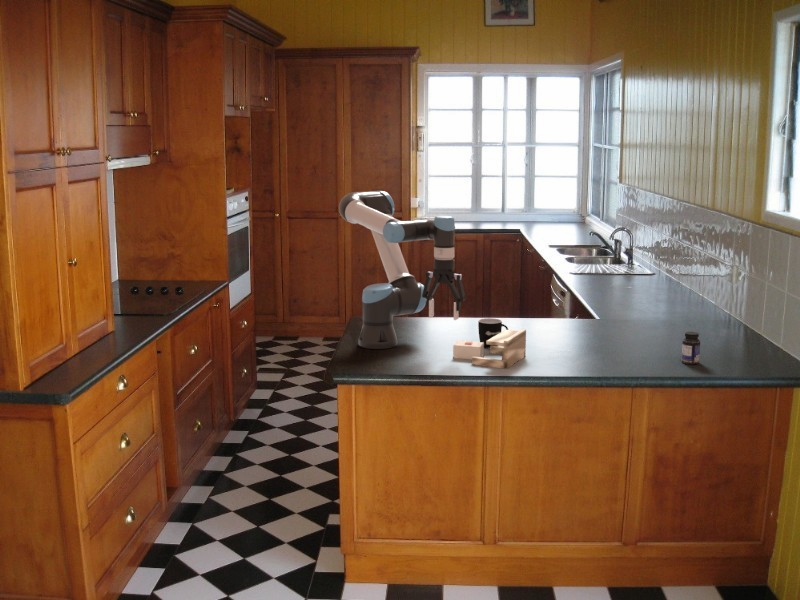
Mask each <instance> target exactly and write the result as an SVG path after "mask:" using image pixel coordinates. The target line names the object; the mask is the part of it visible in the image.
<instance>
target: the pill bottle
mask: <svg viewBox="0 0 800 600" xmlns="http://www.w3.org/2000/svg"><path fill="white" fill-rule="evenodd" d="M699 336H700V333H699V332H697V331H692V330H691V331H690V330H689V331H685V332H684V337H685V338H683V339H682V341H681V342H682V345H681V362H682V364H684V365H685V364H686V365H698V364H699V363H700V355H701V354H700V353H701V351H700V350H701V340H700V339H699Z"/></svg>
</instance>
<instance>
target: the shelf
mask: <svg viewBox="0 0 800 600" xmlns="http://www.w3.org/2000/svg"><path fill="white" fill-rule="evenodd" d="M526 343H527V329H523V328H522V329H521V330H512V329H511V330H510V329H508V330H506V329H504V330H501V333H499V334H497V335H496V336H494V337H492V338H490V339H489V340H487V341H486V344H489V345H491V346H490V348H489V353H490V354H496V353H498V354H497V355H502V356H501V359H495V358H490V357H489V358H488V357H474V356H473V357H472V359H471V365H474V364H475V366H476V365H477V366H482V365H484V366H483V367H491V368H496V369H497V368H499V369H504V370H505V369H506V370H507V369H509V368H511V367H512V366H513V365H515V364H516V363H518V362H519V361H521V360H522V359H524V358H525V357H526V355H527V354H526V349H527V344H526ZM492 345H497V346H492ZM524 356H525V357H524ZM521 358H522V359H521ZM520 359H521V360H520ZM518 360H519V361H518ZM517 361H518V362H517ZM514 363H515V364H514ZM510 366H511V367H510Z"/></svg>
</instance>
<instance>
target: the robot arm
mask: <svg viewBox="0 0 800 600" xmlns="http://www.w3.org/2000/svg"><path fill="white" fill-rule="evenodd" d="M338 212H339V214H340V217H341V218H342V219H343V220H344V221H345V222H347V223H350V224H352V225H353V224H354V225H356V224H359V225H360V226H363V227H364V228H366V229H369V230H370V232H371V235H372V236H373V239H374V242H375V246H376V248H377V251H378V253H379V257H380V260H381V262H382V265H383V268H384V271H385V273H386V277H387V279H388V282H381V283H380V282H379V283H374V284H370V285H367V286H366V287H365V288H363V290H362V297H361V301H362V327H361V331H360V332H359V337H358V346H359V347H361V348H364V349H368V350H369V349H371V350H386V349H391V348H394V347H396V346H398V338H397V333H396V331H395V328H394V323H393V321H394V320H393V319H394V317H396V316H403V315H413V314H415V313H416V314H417V313H419V312H421V311H423V310H424V308H425V306H426V308H427V309H428V318H433V317H434V316H435V299H434V298H433V296H434V294H435V293H436V291H437V290H438V287H439V285H440V284H444V285H447V286H448V288H449V291H450V292H451V294H452V296H453V298H454V299H453V300H454V301H455V302H453V321H456V320H459V316H460V315H459V312H460V311H461V309H462V302H464V301H466V299H467V297H466V293H465V289H464V288H465V287H464V284H463V274H462V273H460V274H459V273H456V272H455V259H454V258H455V242H456V241H455V238H456V233H455V232H456V226H455V224H456V222H455V217H453V216H452V215H436V216H435V217H434V218H433V219H430V218H426V217H425V218H423V217H422V218H418V219H416V220H399V219H397V218H395V217H393V216H394V213H395V203H394V200H393V198H392V196H391V195H390V194H389V193H388V192H387V191H383V190H372V191H353V192H349V193H347V194H345V195H344V196H343V197H342V198H341V199H340V202H339V204H338ZM424 240H425V241H426V240H427V241H433V257H434V260H433V271H427V272H425V278H426V279H425V282H424V284H422V283H421V282H417V280H416V277H415V276H414V275H413V274H410V272H409V269H408V267H407V264H406V261H405V258H404V256H403V253H402V250H401V247H400V245H399V243H405V242H407V243H408V242H416V241H424ZM433 278H435V280H434V281H433V284H432V279H433ZM454 279H455V281H456V285H455V281H454ZM431 284H432V286H431ZM456 286H457V287H456Z"/></svg>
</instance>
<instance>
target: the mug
mask: <svg viewBox="0 0 800 600" xmlns="http://www.w3.org/2000/svg"><path fill="white" fill-rule="evenodd" d="M477 325H478V327H477V329H478V338H479V342H484V349H490V346H491V345H489V344H486V341H487V340H489V339H490V338H492V337H494V336H496V335H497V334H499V333H501V332H502V328H503V327H504V328H505V330H509V328H508V326H507V325H506V324H504V323H503V322H502V319H499V318H491V317H489V318H487V317H486V318H480V319H478V324H477ZM492 346H497V345H492Z"/></svg>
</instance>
